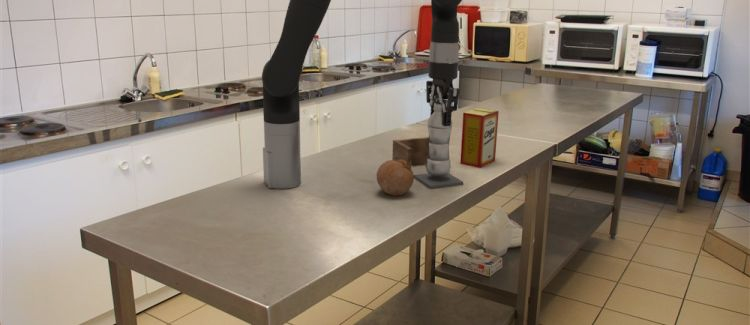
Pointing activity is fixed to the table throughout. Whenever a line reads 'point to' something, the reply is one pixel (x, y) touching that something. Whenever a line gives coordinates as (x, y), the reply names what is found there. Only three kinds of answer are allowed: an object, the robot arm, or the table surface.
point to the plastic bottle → (438, 143)
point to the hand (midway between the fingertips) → (440, 123)
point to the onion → (395, 177)
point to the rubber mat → (438, 180)
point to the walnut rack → (411, 150)
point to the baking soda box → (479, 137)
